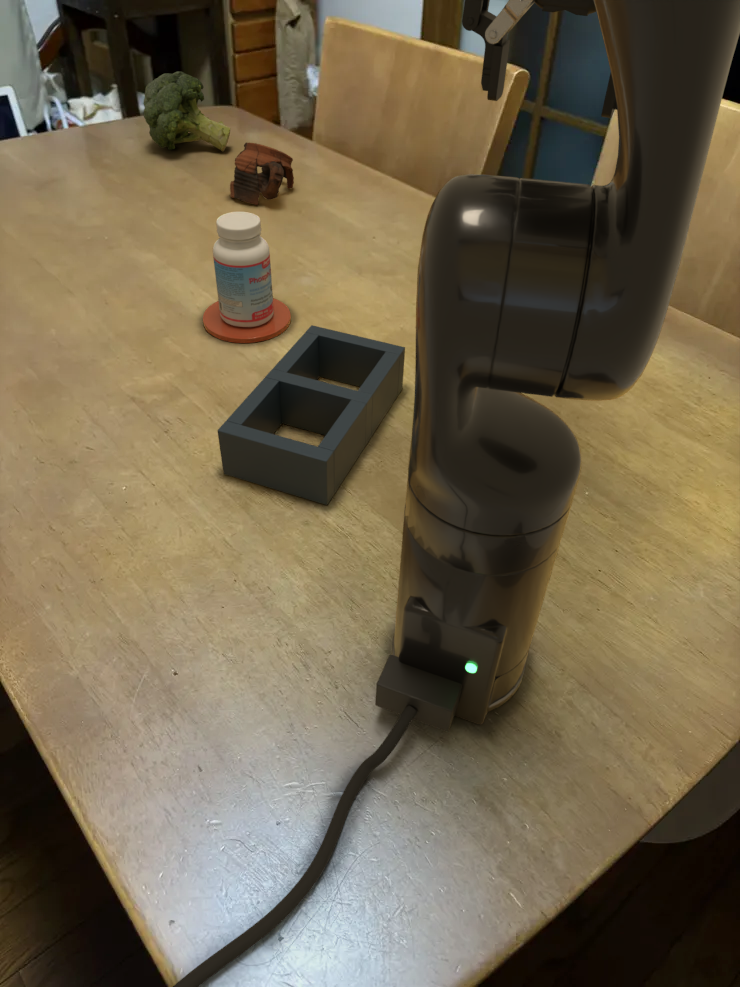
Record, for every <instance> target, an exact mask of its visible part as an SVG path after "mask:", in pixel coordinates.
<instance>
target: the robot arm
mask: <svg viewBox="0 0 740 987" xmlns="http://www.w3.org/2000/svg"><path fill="white" fill-rule="evenodd" d="M490 1H491V0H464V3H463V10H462V17H461V24H462V27H463V28H464V29H465V31H469V32H474V33H475V34H477V35H479V36H480V37H481V38H482V39H483V42H484V52H483V53H484V55H483V62H482V69H481V70H482V71H481V81H480V84H481V90H482V91H484V92H487V96H486V97H487V98H486V99H487V101H493V102H498V101H499V100H500V99H501V97H503V94H504V88H505V82H506V74H507V67H508V59H509V52H510V45H511V44H510V43H511V39H508V35H509V33H510V32H511V31H512V29H513V28H514V27H515V26H516V25H517V23H518V22H519V21H520V20H521V19H522V17H523V16H524V15H525V14H526V13H527V12H528V11H529V10H530V8H531V7H532V6H533V5H534V4H536V6H537V7H539V8H540V9H542V10H541V11H542V12H545V13H557V12H562V11H566V12H569V13H570V14H573V15H575V16H581V17H588V16H589V15H591V14H595V13H596V15H597V19H598V23H599V27H600V31H601V35H602V40H603V43H604V49H605V52H606V57H607V60H608V65H609V70H610V73H609V78H608V83H607V87H606V92H605V95H604V101H603V105H602V110H601V115H600V117H602V118H608V119H611V118H613V117H612V116H613V115H614V113H615V110H616V113H617V127H618V145H617V146H618V148H617V158H616V164H615V170H614V174H613V177H612V178H611V180H610V182H609V183H607V184H605V185H599V184H593V185H590V184H589V183H581V182H569V181H560V180H547V179H540V178H539V179H537V178H527V177H520V178H519V177H516V176H504V175H495V174H494V175H493V174H475V173H473V174H472V173H468V174H460V175H459V174H458V175H456V176H454V177H452V178H451V179H449V180H448V181H446V182H445V183H444V184H443V185H442V187H441V188H440V189H439V191H438V192H437V194H436V195H435V198H434V200H433V202H432V203H431V205H430V208H429V210H428V213H427V216H426V220H425V223H424V227H423V230H422V236H421V242H420V251H419V257H418V265H417V277H416V278H417V279H416V295H415V296H416V297H415V365H414V366H415V370H414V371H415V372H414V400H413V415H412V427H411V437H410V446H409V447H410V448H409V457H408V466H407V480H406V494H405V505H404V515H403V525H402V538H401V550H400V561H399V575H398V585H397V586H398V587H397V599H396V609H395V622H394V624H395V625H394V633H393V638H392V643H391V654H390V653H389V656H388V657H387V660H386V663H385V664H384V667H383V669H382V670H381V673H380V675H379V678H378V680H377V682H376V686H375V704H374V705H375V706H376V707H378V708H380V709H381V708H382V709H384V710H387V711H389V712H392V713H394V714H397V715H399V717H398V719H397V720H396V721H395V723H394V724H393V726H392V728H391V729H390V731H389V733H388V734H387V736H386V737H385V739H384V740H383V741H382V742H381V744H380V745H379V746H378V747H377V749H376V750H375V751H374V752H373V753H372V754H370V755H369V756H368V757H367V758H366V759H364V760H363V761H362V762H361V763H360V765H359V766H358V767H357V769H356V770H355V771H354V773H353V775H352V776H351V778H350V779H349V781H348V783H347V785H346V786H345V788H344V790H343V792H342V794H341V796H340V798H339V801H338V803H337V805H336V807H335V811H334V812H333V815H332V817H331V820H330V823H329V825H328V828H327V830H326V833H325V835H324V837H323V840H322V841H321V844H320V846H319V848H318V851H317V852H316V854H315V856H314V858H313V860H312V861H311V863H310V865H309V866H308V868H307V869H306V870H305V872H304V873H303V874H302V876H301V877H300V879H299V880H298V881H297V882H296V883H295V885H294V886H293V887H292V888H291V889H290V891H289V892H288V893H287V894H286V895H285V896H284V897H283V898H282V899H281V900H280V901H279V902H278V903H277V904H276V905H275V906H274V907H273V908H272V909H271V910H270V911H269V912H268V913H266V914H265V915H264V916H263V917H261V919H259V920H258V921H257V922H255V923H254V924H253V925H251V926H250V927H249V928H248V929H246V930H244V932H242V933H241V934H240V935H238V936H237V937H236V938H234V939H232V941H229V943H227V944H226V945H224V946H223V947H221V949H219V950H218V951H216V952H215V953H213V954H211V955H210V956H209V957H208V958H207V959H205V960H204V961H203V962H200V964H199V965H197V966H196V967H195V968H193V969H192V970H191V971H190V972H188V974H186V975H185V976H183V977H182V978H181V979H180V980H179V981H177V982H176V983H175V984H174V985H172V987H201V985H203V984H204V983H205V982H207V981H208V980H209V979H211V978H212V977H213V976H214V975H215V974H217V973H218V972H220V971H221V970H222V969H224V968H225V967H226V966H228V965H229V964H230V963H232V962H234V961H235V960H236V959H238V958H239V957H240V956H242V955H243V954H244V953H245V952H247V951H249V950H250V949H251V948H252V947H253V946H255V945H257V943H259V942H260V941H261V940H263V939H264V938H265V937H266V936H267V935H268V934H270V933H271V932H273V930H275V929H276V928H277V927H278V926H279V925H280V924H281V923H283V922H284V920H285V919H287V918H288V916H289V915H290V914H292V912H293V911H294V910H295V909H296V908H297V907H298V905H300V904H301V902H302V901H303V900H304V899H305V897H306V896H307V895H308V894H309V893H310V891H311V890H312V889H313V887H315V885H316V883H317V882H318V880H319V878H320V877H321V875H322V874H323V872H324V870H326V867H327V865H328V863H329V861H330V860H331V857H332V854H333V853H334V850H335V848H336V846H337V844H338V841H339V838H340V836H341V833H342V830H343V827H344V825H345V823H346V819H347V817H348V814H349V812H350V810H351V807H352V805H353V803H354V801H355V799H356V797H357V795H358V793H359V792H360V789H361V788H362V787H363V785H364V783H365V782H366V780H368V777H369V776H370V775H371V773H373V771H374V770H375V769H376V768H378V767H380V766H381V764H383V763H385V761H386V760H387V758H389V756H390V755H391V754H392V752H393V751H394V750H395V748H396V747H397V746H398V744H399V743H400V741H401V739H402V738H403V736H404V735H405V733H406V732H407V729H409V727H410V725H411V724H412V722H413V721H417V722H418V723H421V724H424V725H428V726H430V727H433V728H435V729H438V730H441V731H443V732H446V733H449V732H450V729H451V726H452V723H453V721H454V718H455V717H457V718H460V719H463V720H465V721H467V722H469V723H474V724H476V725H482V724H483V723H484V722H485V719H486V716H487V714H488V712H491V711H493V710H496V709H498V708H499V707H501V706H503V705H504V704H505V703H507V702H508V701H509V700H511V699H512V697H513V696H514V695H515V694H516V692H517V691H518V689H519V688H520V686H521V684H522V680H523V678H524V675H525V672H526V671H525V670H526V664H527V659H528V655H529V653H530V649H531V646H532V641H533V637H534V634H535V631H536V628H537V624H538V620H539V618H540V613H541V611H542V607H543V603H544V599H545V596H546V593H547V589H548V586H549V583H550V579H551V576H552V572H553V569H554V566H555V562H556V559H557V555H558V552H559V548H560V545H561V542H562V538H563V536H564V533H565V529H566V525H567V522H568V518H569V515H570V511H571V508H572V505H573V501H574V499H575V495H576V490H577V488H578V484H579V482H580V476H581V472H582V465H583V464H582V463H583V462H582V451H581V447H580V443H579V442H578V439H577V437H576V435H575V434H574V432H573V430H572V429H571V428H570V426H569V425H568V424H567V423H566V422H565V420H563V418H561V416H559V415H558V414H557V413H556V412H554V410H551V409H550V408H549V407H548V406H546V405H544V404H542V403H541V402H540V401H537V400H536V399H533V398H531V397H530V396H527V395H534V396H543V397H551V398H553V397H555V398H556V399H557V398H558V399H564V400H576V401H587V402H588V401H590V402H593V401H594V402H595V401H598V402H600V401H612V400H617V399H619V398H620V397H622V396H624V395H626V394H627V393H628V392H630V391H631V390H632V388H634V386H635V385H636V383H638V381H639V380H640V378H641V377H642V375H643V374H644V372H645V370H646V368H647V366H648V365H649V362H650V360H651V358H652V355H653V353H654V351H655V349H656V346H657V344H658V341H659V338H660V335H661V332H662V330H663V326H664V323H665V320H666V317H667V313H668V310H669V307H670V306H669V305H670V303H671V299H672V295H673V291H674V287H675V285H676V281H677V277H678V273H679V269H680V266H681V261H682V258H683V254H684V250H685V245H686V242H687V238H688V235H689V234H688V233H689V230H690V226H691V222H692V219H693V213H694V210H695V206H696V202H697V199H698V194H699V190H700V186H701V182H702V179H703V174H704V171H705V166H706V162H707V158H708V155H709V151H710V146H711V142H712V139H713V134H714V131H715V127H716V123H717V119H718V114H719V111H720V107H721V104H722V100H723V96H724V92H725V88H726V85H727V81H728V76H729V73H730V70H731V69H730V68H731V66H732V61H733V59H734V58H733V57H734V54H735V51H736V48H737V44H738V40H739V37H740V0H508V1H507V2H506V3H505V4H504V7H503V8H502V9H501V10H500V12H499V13H498V14H497V15H495V14H493V13H491V12H490V11H489V7H490V3H491V2H490ZM525 394H526V395H525Z"/></svg>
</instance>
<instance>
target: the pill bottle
mask: <svg viewBox="0 0 740 987" xmlns="http://www.w3.org/2000/svg"><path fill="white" fill-rule="evenodd" d="M261 222H262V221H261V217H260V216H258V215H257V214H255V213H253V212H248V211H231V212H230V211H229V212H226V213H224V214H221V215H220V216H219V217H217V219H216V222H215V223H216V234H217V235H218V237H219V238H218V239H216V241H215V242H214V243H213V247H212V257H213V266H214V275H215V284H216V292H217V301H219V310H220V315H221V318H222V319H223V320H224V321H225V322H226V323H228V324H230V325H233V326H238V327H256V326H260V325H262V324H264V323H266V322H268V321H269V320H270V319H271V318H272V316H273V312H274V309H273V298H274V296H273V295H274V293H273V280H272V267H271V252H270V246H269V243H268V242H267V240H266V239H265V238H264V237H263V236H261V234H262V224H261Z"/></svg>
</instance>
